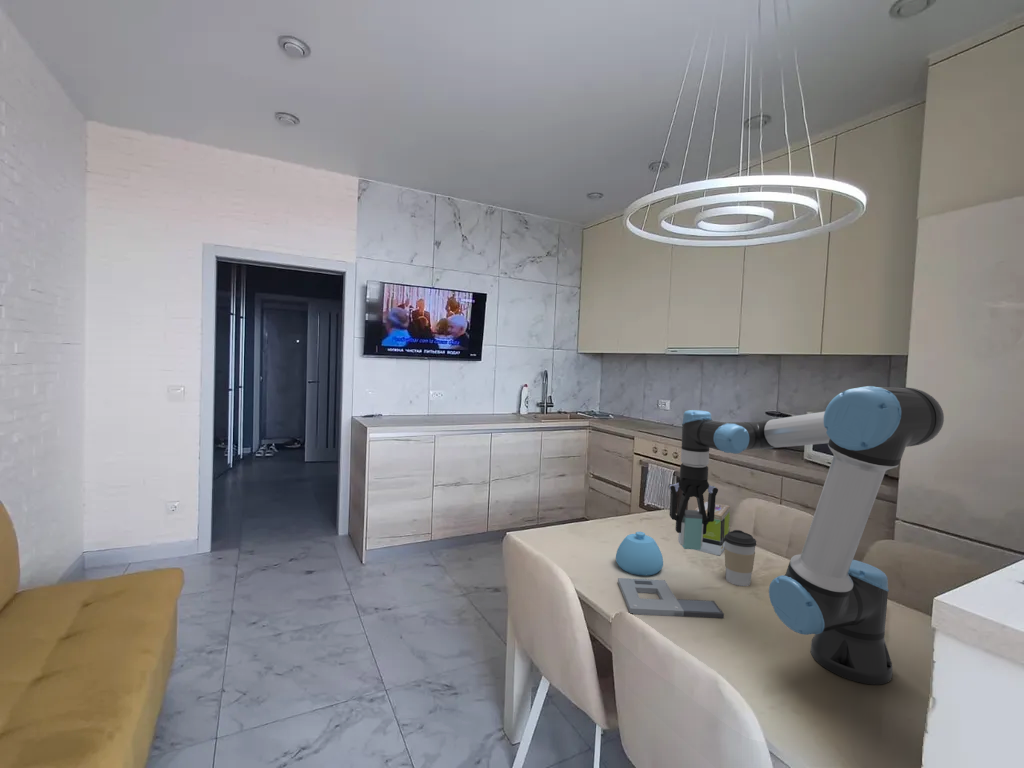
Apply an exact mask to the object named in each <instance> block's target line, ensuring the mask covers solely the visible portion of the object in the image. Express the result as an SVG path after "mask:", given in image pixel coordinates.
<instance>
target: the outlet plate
mask: <svg viewBox="0 0 1024 768" xmlns="http://www.w3.org/2000/svg"><path fill="white" fill-rule="evenodd" d="M617 584H618V587H619V589H620V592H621V593H622V596H623V599H624V601H625V605H626V606H627V609H628V612H629V614H630V613H633V614H632V615H644V616H645V615H647V616H648V615H649V616H667V617H684V616H683V615H684V610H683V609H682V607H681V606H680V604H679V602H678V601H677V599H678V598H677V597H676V596H675V595H674V592H673V591H672V589H671V588H670V586H669V585H668V582H667V581H666V580H665V579H654V578H653V579H651V578H648V579H647V578H629V577H617ZM641 593H642V594H657V596H658V598H643V597H642V598H641V597H640V595H639V594H641ZM674 612H675V613H674ZM676 612H677V613H676ZM680 613H681V614H680Z"/></svg>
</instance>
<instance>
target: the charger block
mask: <svg viewBox="0 0 1024 768" xmlns="http://www.w3.org/2000/svg"><path fill="white" fill-rule="evenodd" d="M683 522H684V523H685V528H684V545H681V546H682V548H683V549H684V550H694V551H698V550H701V532H702V514H701V513H700V512H699V511H698V510H695V509H686V510H685V513H684V516H683Z"/></svg>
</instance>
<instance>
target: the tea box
mask: <svg viewBox="0 0 1024 768" xmlns="http://www.w3.org/2000/svg"><path fill="white" fill-rule="evenodd" d="M704 505H705V511H706V516H707V508H708V501H705V500H704ZM694 510H698V511H699V508H698V506H697V507H695V508H694ZM730 523H731V505H727V504H723V503H722V504H721V503H716V502H715V513H714V521H713V522H708V524H707V528H706V534H703V540H702V546H701V550H697V552H703V553H705V554H706V553H707V554H711V555H715V556H721V555H722V553H724V552H725V540H724V538H725V535H726V534H728V533H729V532H731V531H730V527H731V525H730Z"/></svg>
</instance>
